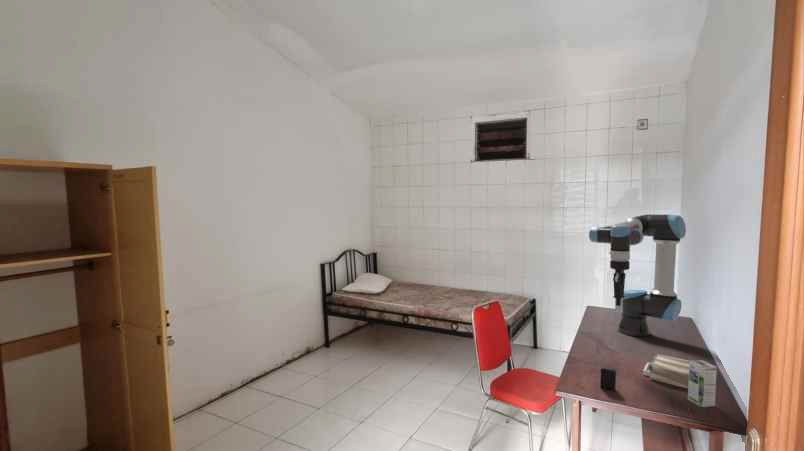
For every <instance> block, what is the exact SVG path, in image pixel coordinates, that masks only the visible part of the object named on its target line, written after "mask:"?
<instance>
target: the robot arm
mask: <svg viewBox="0 0 804 451" xmlns="http://www.w3.org/2000/svg"><path fill="white" fill-rule="evenodd" d="M686 229H687V228H686V223H685V220H684V218H683V217H682V216H680V215H678V214H648V213H647V214H642V215H639V216H638V215H637V216H633V217H629V218H627V219H626V220H624V221H623V222H618V223H615V224H611V225H607V226H606V225H605V226H601V227H599V226H597V227H596V226H594V227H591V228H590V229H589V232H588V237H589V240H590V242H592V243H597V244H610V251H609V252H608V255H609V256H610V257H609V258H610V260H609V262H610V263H609V269H611V270H614V272H613V278H612V281H613V299H614V300H615V301H614V312H615V313H618V314H621V317H620V320H619V322H618V325H617V331H618V332H620V334H624V335H627V336H633V337H647V336H650V334H651V329H650V327H649V324H648V320H647V317H648V318H653V319H659V320H663V321H670V322H673V321H676V320H677V319H678V317H679V316H680V313H681V310H682V307H683V306H682V305H683V304H682V300H681V299H679V298H678V294H677V293H676V292H675V290H674V289H675V275H676V272H675V271H676V255H677V245H678V244H679V243H680V242H681V239H684V238H685V236H686V231H687V230H686ZM644 237H652V241H653V242H654V243H655V260H654V261H655V262H654V280H653V283H654V284H653V289H652V290H651V291H650V292H649V293H648V291H647V290H645V289H627V290H625V283H626V273H625V271H628V270H629V269H630V261H629V260H630V258H631V248H630V247H631V246H635V245H639V244H640V243H642V241H643V240H644Z"/></svg>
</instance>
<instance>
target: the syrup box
mask: <svg viewBox="0 0 804 451" xmlns="http://www.w3.org/2000/svg"><path fill="white" fill-rule="evenodd" d="M688 361H689V384H688V388H687V400H688V401H690V402H692V403H693V404H695V405H696V406H698V407H699V408H707V407H708V408H709V407H710V406H711V407H715V406H716V394H717V393H716V391H717V390H716V389H717V365H716V366H715V365H713V364H711V363H709V362H707V361H705V360H701V359H700V360H699V359H697V360H696V359H694V360H688ZM711 407H710V408H711Z"/></svg>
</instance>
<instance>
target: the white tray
mask: <svg viewBox="0 0 804 451" xmlns="http://www.w3.org/2000/svg"><path fill="white" fill-rule="evenodd" d="M651 363H652V362H646V364H645V366H644V368H643V370H642V375H643V376H647V377H650V365H651Z"/></svg>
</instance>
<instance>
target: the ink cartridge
mask: <svg viewBox="0 0 804 451" xmlns="http://www.w3.org/2000/svg"><path fill="white" fill-rule="evenodd" d="M599 383H600V384H599V385H600V388H601V389H603V390H607V391H611V392H615V390H616V388H617V386H616V385H617V370H616V369H615V368H611V367H607V366H601V368H600V382H599Z"/></svg>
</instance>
